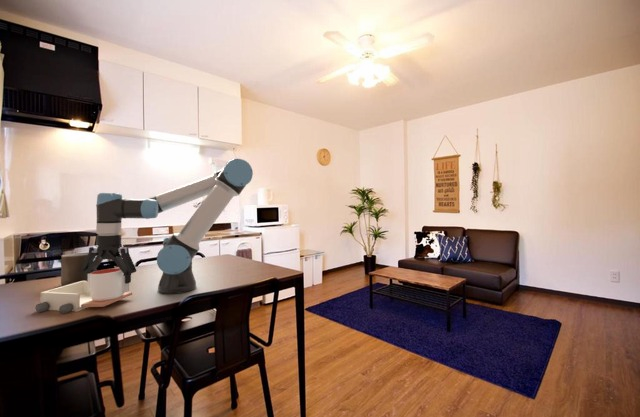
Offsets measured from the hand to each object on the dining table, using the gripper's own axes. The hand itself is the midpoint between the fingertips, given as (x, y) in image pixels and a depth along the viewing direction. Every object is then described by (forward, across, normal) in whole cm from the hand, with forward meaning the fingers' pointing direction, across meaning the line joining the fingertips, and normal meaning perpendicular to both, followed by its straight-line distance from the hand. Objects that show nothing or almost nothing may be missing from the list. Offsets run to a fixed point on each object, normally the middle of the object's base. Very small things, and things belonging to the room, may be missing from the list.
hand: (108, 291), depth 106 cm
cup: (+3, 0, 0) cm, 3 cm away
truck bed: (+5, +12, 0) cm, 13 cm away
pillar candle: (+5, +36, -22) cm, 43 cm away
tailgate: (+3, +4, 0) cm, 5 cm away
